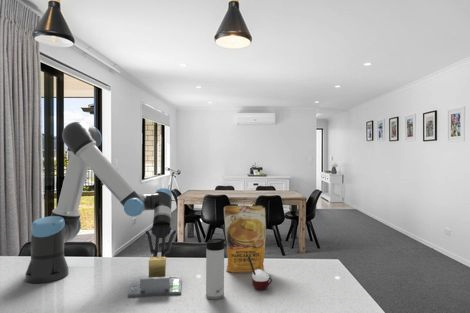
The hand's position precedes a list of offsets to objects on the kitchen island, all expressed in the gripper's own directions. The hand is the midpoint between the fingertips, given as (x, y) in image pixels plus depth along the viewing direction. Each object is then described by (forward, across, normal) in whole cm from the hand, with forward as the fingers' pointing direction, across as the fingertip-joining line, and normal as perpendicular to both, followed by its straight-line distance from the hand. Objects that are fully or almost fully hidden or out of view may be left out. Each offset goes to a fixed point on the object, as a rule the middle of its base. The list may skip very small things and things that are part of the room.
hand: (158, 269), depth 124 cm
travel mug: (+15, -21, +8) cm, 27 cm away
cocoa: (+12, -38, +4) cm, 40 cm away
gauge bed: (+8, 0, +1) cm, 8 cm away
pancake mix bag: (-3, -36, -10) cm, 37 cm away
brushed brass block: (+5, -2, 0) cm, 6 cm away
